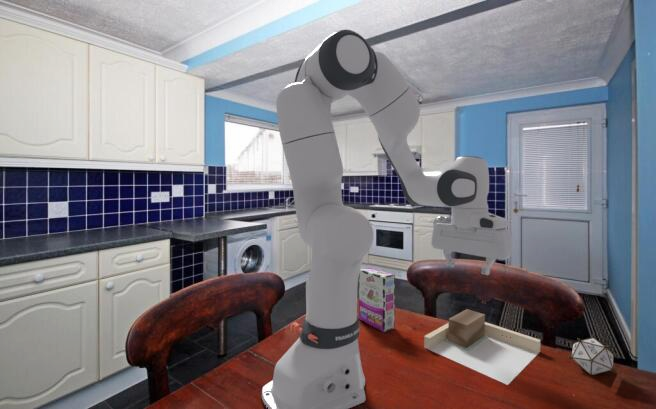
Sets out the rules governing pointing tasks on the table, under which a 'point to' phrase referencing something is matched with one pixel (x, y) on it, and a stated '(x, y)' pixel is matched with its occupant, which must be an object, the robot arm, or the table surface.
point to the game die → (592, 356)
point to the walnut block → (466, 328)
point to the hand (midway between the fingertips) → (467, 270)
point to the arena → (488, 351)
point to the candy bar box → (377, 298)
